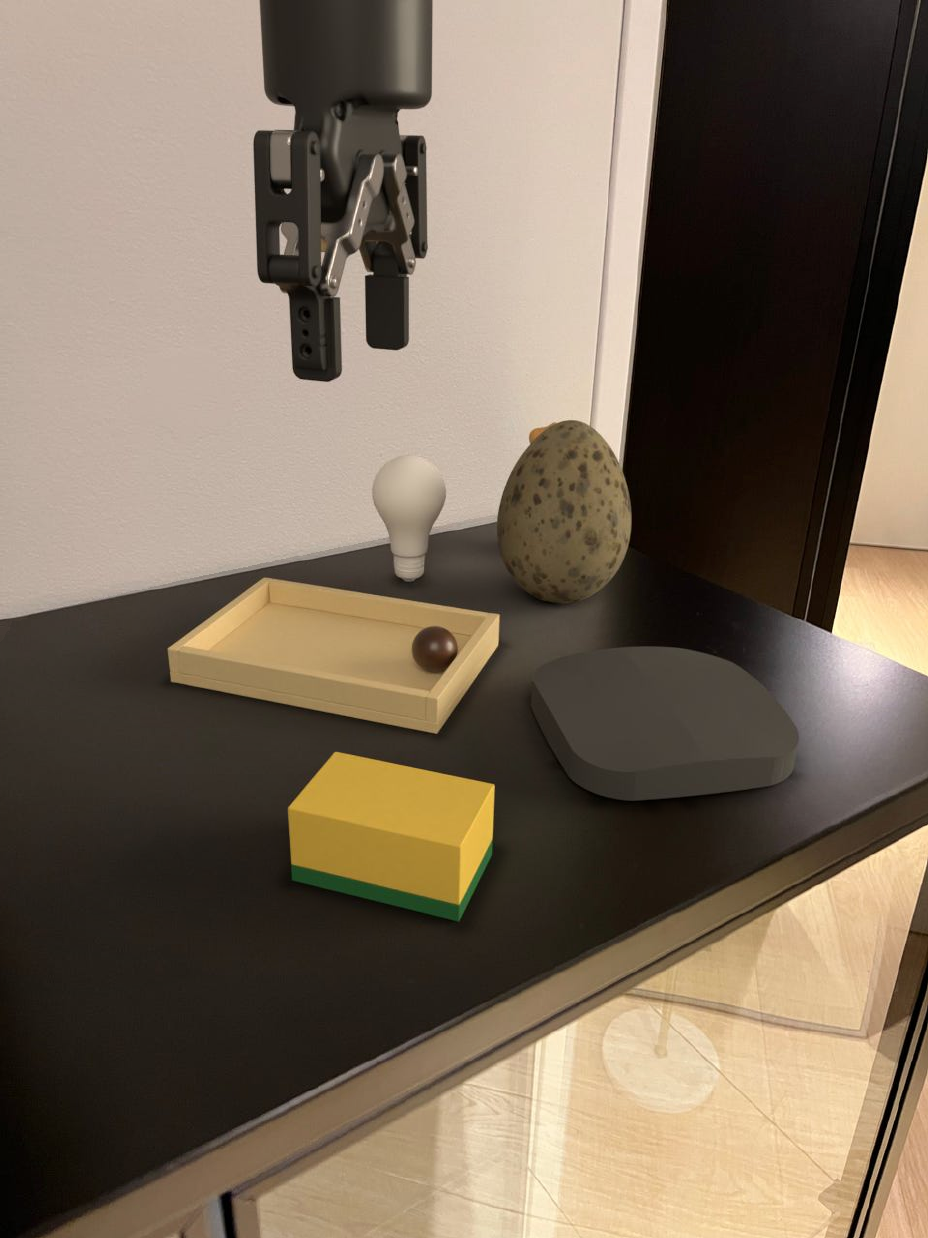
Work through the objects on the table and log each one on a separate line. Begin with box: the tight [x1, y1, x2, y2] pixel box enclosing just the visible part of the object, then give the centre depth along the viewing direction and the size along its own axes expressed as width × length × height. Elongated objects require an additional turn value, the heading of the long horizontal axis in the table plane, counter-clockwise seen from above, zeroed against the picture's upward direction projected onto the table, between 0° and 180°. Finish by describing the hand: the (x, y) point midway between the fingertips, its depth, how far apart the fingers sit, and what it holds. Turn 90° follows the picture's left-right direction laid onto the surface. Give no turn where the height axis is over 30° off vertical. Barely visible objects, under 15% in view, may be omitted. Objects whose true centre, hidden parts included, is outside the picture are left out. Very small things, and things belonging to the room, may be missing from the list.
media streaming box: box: [530, 645, 800, 802], centre depth 65 cm, size 15×15×3 cm
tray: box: [167, 577, 500, 735], centre depth 73 cm, size 20×14×3 cm
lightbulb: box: [371, 454, 447, 583], centre depth 85 cm, size 6×6×11 cm
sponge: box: [287, 751, 496, 922], centre depth 52 cm, size 9×6×4 cm, turn 72°
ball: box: [412, 626, 458, 672], centre depth 70 cm, size 3×3×3 cm
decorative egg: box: [496, 419, 632, 605], centre depth 82 cm, size 11×11×15 cm
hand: (354, 362), depth 51 cm, fingers open, 8 cm apart
